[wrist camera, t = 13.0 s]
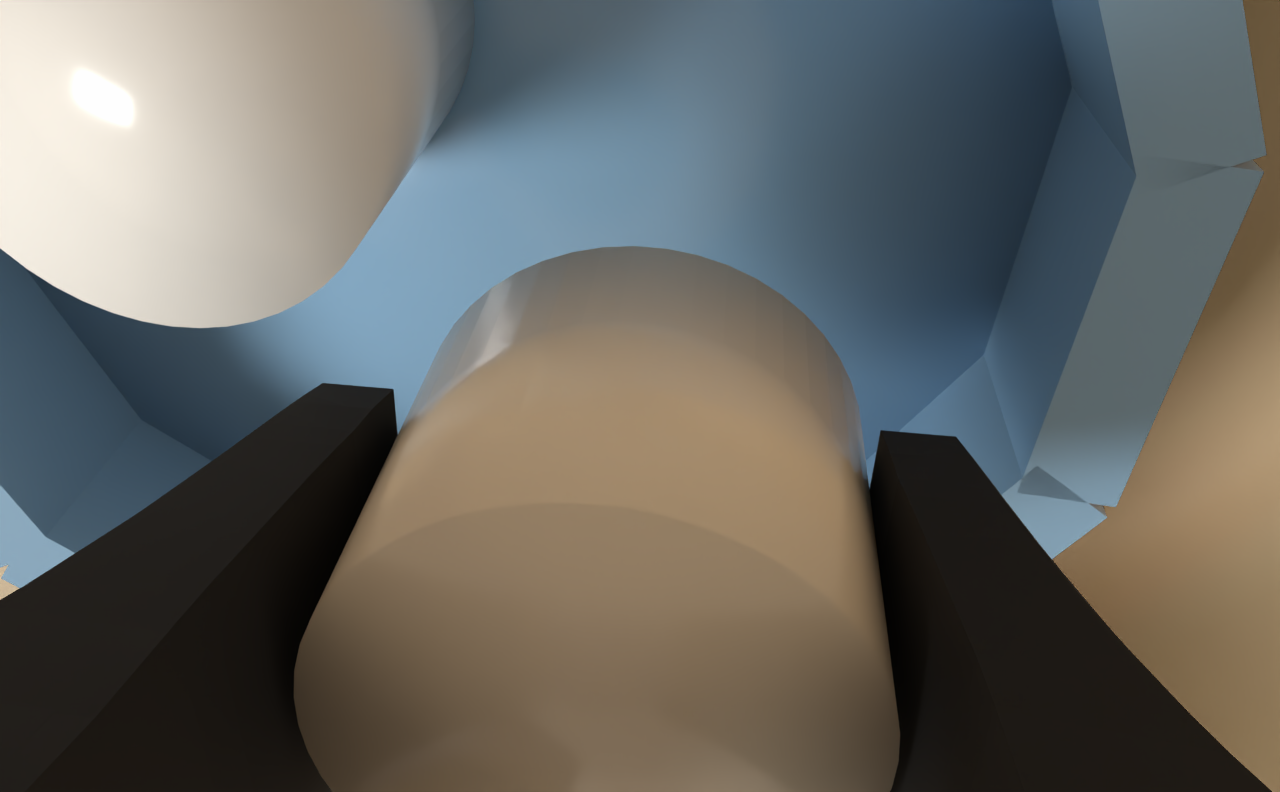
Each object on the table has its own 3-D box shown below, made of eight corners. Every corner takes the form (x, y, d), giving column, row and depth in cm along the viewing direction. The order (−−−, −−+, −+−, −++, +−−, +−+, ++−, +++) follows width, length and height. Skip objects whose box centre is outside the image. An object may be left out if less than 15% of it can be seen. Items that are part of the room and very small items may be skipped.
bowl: (-253, 217, 15) (-463, 333, 12) (191, -1242, 8) (-77, -1664, 5) (625, 726, 18) (603, 896, 16) (1438, 25, 12) (1625, 128, 9)
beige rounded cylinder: (370, 270, 10) (206, 523, 7) (849, 221, 9) (888, 480, 6) (476, 618, 12) (384, 925, 9) (871, 600, 11) (908, 921, 8)
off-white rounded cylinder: (58, -239, 11) (-190, -201, 8) (476, -195, 11) (373, -142, 8) (127, 160, 13) (-48, 300, 10) (474, 199, 13) (393, 352, 10)
